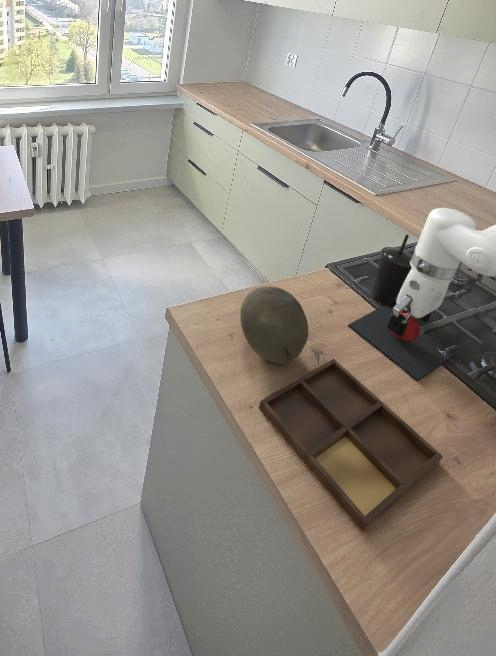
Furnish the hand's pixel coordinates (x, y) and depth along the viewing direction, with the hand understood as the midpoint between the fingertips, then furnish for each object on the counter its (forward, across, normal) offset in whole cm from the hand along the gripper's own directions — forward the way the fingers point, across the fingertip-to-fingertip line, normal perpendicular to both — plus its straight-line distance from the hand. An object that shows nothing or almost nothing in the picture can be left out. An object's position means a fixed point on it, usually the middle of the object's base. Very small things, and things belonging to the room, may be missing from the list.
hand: (407, 324), depth 94 cm
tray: (+6, -31, -8) cm, 32 cm away
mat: (+5, 0, 0) cm, 5 cm away
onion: (+5, 0, 0) cm, 5 cm away
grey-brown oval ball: (+5, -30, +12) cm, 33 cm away
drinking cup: (+5, +10, +10) cm, 15 cm away
